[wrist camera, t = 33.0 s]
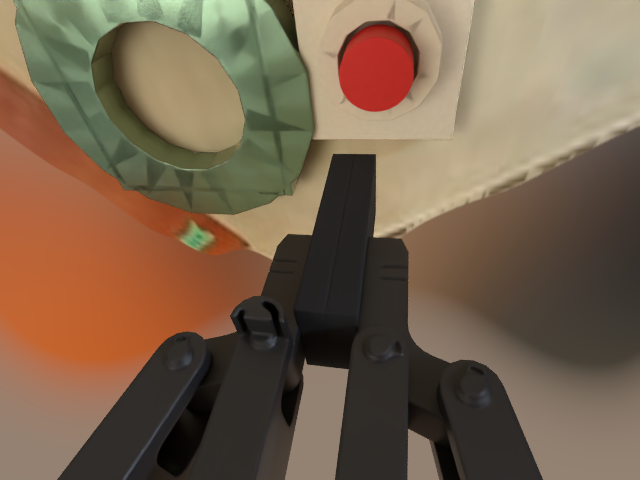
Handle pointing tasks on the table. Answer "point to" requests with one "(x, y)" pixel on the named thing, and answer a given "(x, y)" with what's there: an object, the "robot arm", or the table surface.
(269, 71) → the ring
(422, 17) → the switch box
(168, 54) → the table surface
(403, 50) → the switch button
